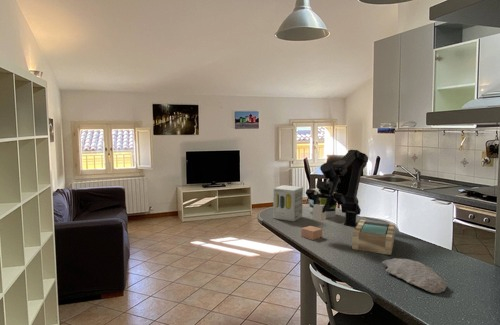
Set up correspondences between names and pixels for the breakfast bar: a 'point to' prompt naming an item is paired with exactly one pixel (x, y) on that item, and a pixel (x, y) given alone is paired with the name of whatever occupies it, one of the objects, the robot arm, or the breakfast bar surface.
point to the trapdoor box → (373, 240)
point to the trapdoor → (375, 227)
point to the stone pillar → (319, 212)
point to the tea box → (323, 201)
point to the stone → (416, 274)
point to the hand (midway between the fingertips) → (318, 211)
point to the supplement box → (287, 202)
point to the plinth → (311, 232)
